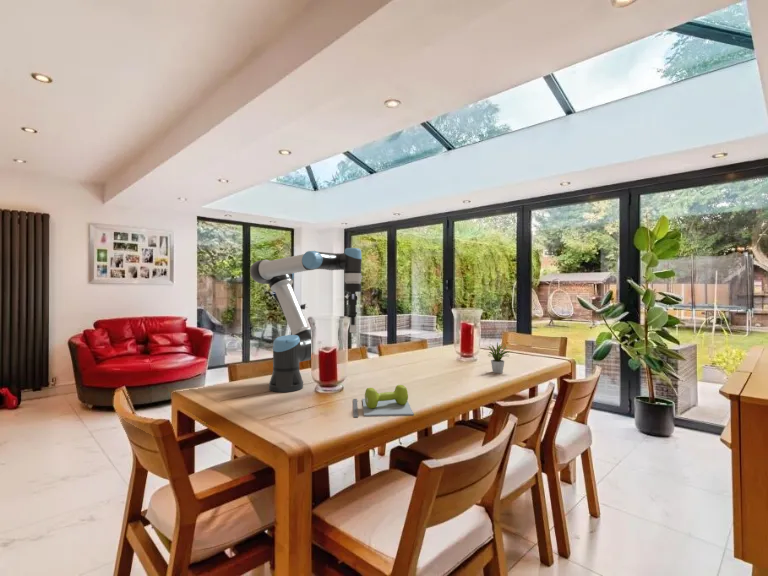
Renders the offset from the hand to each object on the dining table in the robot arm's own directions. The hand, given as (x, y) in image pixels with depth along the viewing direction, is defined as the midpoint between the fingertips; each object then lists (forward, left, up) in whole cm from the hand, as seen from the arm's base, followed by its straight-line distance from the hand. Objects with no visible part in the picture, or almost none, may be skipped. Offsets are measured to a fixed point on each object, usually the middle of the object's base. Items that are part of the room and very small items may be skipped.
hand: (352, 330), depth 176 cm
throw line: (+1, -25, -27) cm, 37 cm away
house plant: (+78, +31, -27) cm, 88 cm away
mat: (+13, -25, -27) cm, 39 cm away
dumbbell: (+13, -25, -26) cm, 39 cm away
